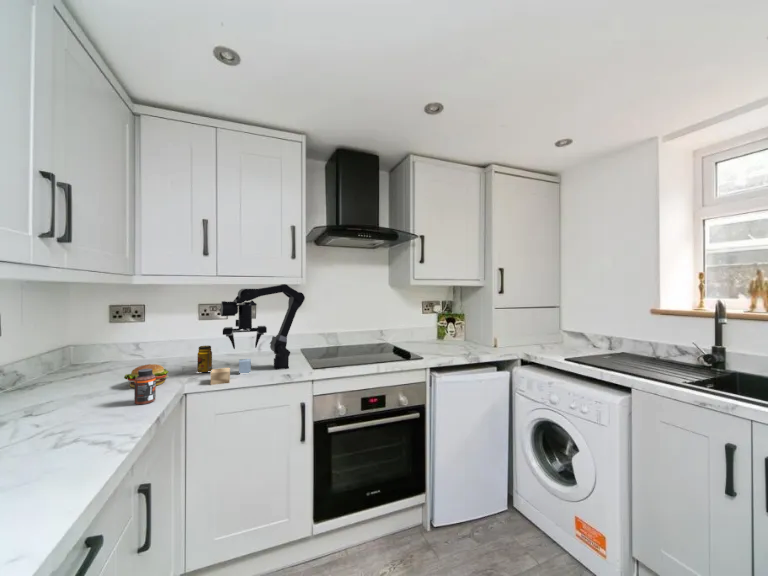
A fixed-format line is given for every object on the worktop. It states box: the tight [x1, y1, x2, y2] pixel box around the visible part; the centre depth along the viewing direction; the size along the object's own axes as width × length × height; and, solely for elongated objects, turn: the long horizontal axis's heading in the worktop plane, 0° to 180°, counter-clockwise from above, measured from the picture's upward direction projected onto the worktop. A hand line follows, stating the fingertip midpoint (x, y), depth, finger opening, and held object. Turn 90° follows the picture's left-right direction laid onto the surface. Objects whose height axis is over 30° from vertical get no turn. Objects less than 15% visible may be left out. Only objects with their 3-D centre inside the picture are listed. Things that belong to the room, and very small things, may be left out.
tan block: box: [210, 367, 231, 386], centre depth 136 cm, size 7×7×5 cm
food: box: [123, 363, 169, 389], centre depth 132 cm, size 14×14×8 cm
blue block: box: [238, 358, 252, 374], centre depth 150 cm, size 5×5×6 cm
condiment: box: [196, 345, 213, 372], centre depth 153 cm, size 7×8×12 cm
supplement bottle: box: [133, 369, 157, 406], centre depth 112 cm, size 6×6×11 cm
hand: (245, 348), depth 150 cm, fingers open, 9 cm apart
